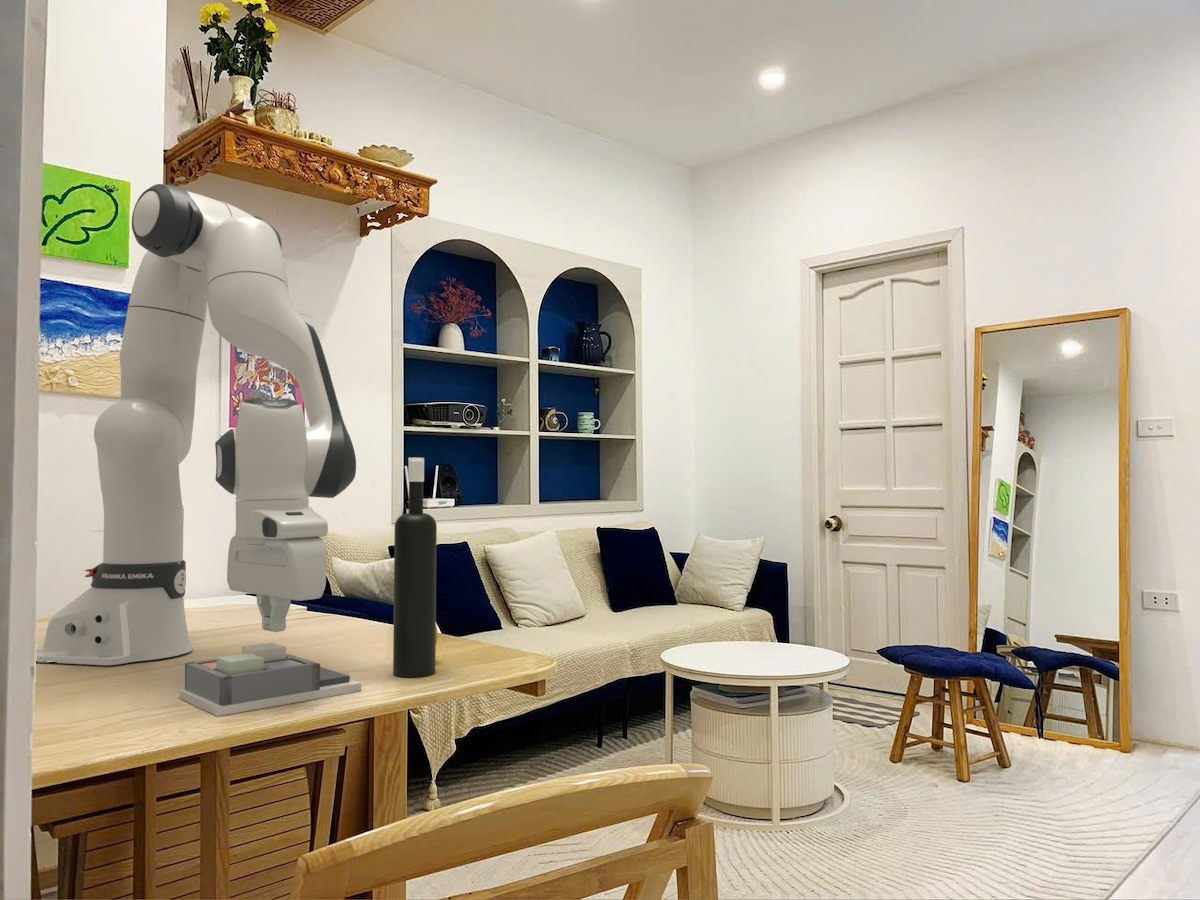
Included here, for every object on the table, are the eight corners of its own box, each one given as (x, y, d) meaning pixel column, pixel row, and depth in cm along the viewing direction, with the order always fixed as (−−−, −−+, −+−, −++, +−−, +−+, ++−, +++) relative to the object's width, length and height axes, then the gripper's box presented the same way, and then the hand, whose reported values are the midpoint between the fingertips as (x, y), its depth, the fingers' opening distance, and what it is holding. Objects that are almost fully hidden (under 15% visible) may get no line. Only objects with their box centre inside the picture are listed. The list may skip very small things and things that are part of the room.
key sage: (229, 681, 104) (230, 662, 104) (216, 676, 107) (216, 657, 107) (263, 676, 107) (263, 657, 107) (249, 671, 110) (249, 653, 110)
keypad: (217, 716, 102) (218, 678, 102) (179, 698, 110) (179, 663, 110) (361, 690, 114) (361, 657, 114) (316, 676, 123) (316, 645, 123)
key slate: (273, 687, 108) (273, 668, 108) (258, 682, 110) (259, 664, 111) (304, 682, 110) (304, 664, 111) (289, 677, 113) (290, 659, 113)
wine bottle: (433, 668, 129) (435, 458, 130) (437, 676, 123) (439, 457, 124) (392, 670, 127) (394, 458, 128) (394, 678, 121) (396, 456, 123)
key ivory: (254, 668, 111) (255, 650, 112) (241, 663, 114) (241, 646, 114) (285, 664, 114) (286, 646, 114) (272, 659, 117) (272, 642, 117)
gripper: (214, 522, 120) (215, 626, 120) (286, 524, 106) (288, 642, 106) (259, 519, 125) (260, 620, 124) (335, 522, 111) (336, 635, 110)
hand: (273, 630), depth 115 cm, fingers closed
